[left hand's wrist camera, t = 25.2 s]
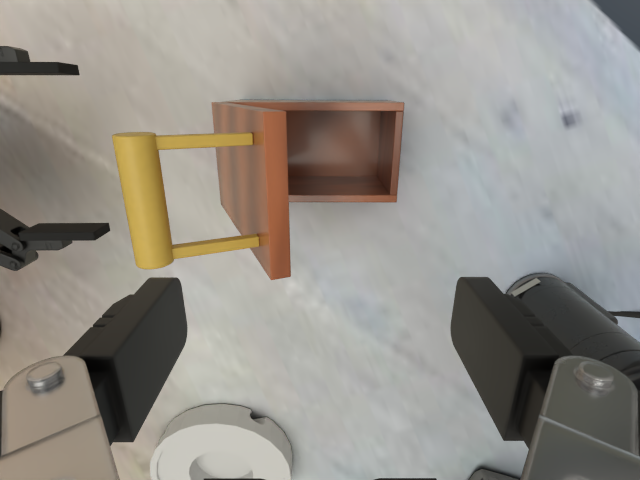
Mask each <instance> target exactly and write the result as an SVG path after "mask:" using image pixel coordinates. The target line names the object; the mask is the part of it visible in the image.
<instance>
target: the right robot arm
mask: <svg viewBox="0 0 640 480" xmlns="http://www.w3.org/2000/svg"><path fill="white" fill-rule="evenodd" d="M0 75H79V70H78V65H73V64H66V63H59V62H30V59H29V55H28V51H26V50H23V49H20V48H15V47H9V46H0ZM109 231H110V227H109V223H39V224H37V225H34V226H32V227H30V228H29V227H28V226H26V225H25V224H23V223H22V222H20V221H18V220H17V219H15V218H14V217H12V216H11V215H9V214H8V213H6V212H5V211H3V210H2V209H0V266H3V267H5V268H8V269H11V270H14V271H17V270H19V269H21V268H23V267H24V266H26V265H28V264H30V263H31V262H33V261H35V260H37V259H38V253H37V252H36V250H60V249H62V248H64V247H66V246H68V245H69V244H71V243H72V240H96V239H98V238H99V237H101V236H103V235H104V234H106V233H107V232H109Z"/></svg>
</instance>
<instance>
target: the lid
mask: <svg viewBox="0 0 640 480" xmlns="http://www.w3.org/2000/svg"><path fill="white" fill-rule="evenodd" d="M212 113H213V123H214V134H187V135H160V136H156V134H155V133H150V132H130V133H119V134H114V135H112V139H113V144H114V149H115V155H116V160H117V165H118V171H119V176H120V181H121V187H122V192H123V197H124V203H125V208H126V213H127V219H128V224H129V229H130V235H131V240H132V245H133V251H134V256H135V261H136V265H137V266H138V267H139V268H142V269H157V268H161V267H165V266H167V265H169V264H171V263H172V262H173V261H174V259H178V258H184V257H191V256H198V255H205V254H211V253H218V252H225V251H232V250H239V249H245V248H250V249H251V250H252V252H253V253H254V255H255V256H256V258H257V259H258V261H259V262H260V264H261V266H262V267H263V269H264V270H265V272H266V273H267V275H268V276H269V278H270V279H271V280H275V279H280V278H286V277H290V276H291V270H290V233H289V196H288V160H287V123H286V111H281V110H274V109H267V108H260V107H254V106H247V105H240V104H234V103H227V102H212ZM206 147H216V155H217V166H218V177H219V188H220V198H221V205H222V206H223V208H224V209H225V211H226V212H227V214H228V215H229V217H230V219H231V220H232V222H233V223H234V225H235V226H236V228H237V229H238V231H239V232H240V234H241V235H242V236H235V237H228V238H220V239H213V240H205V241H198V242H191V243H183V244H176V245H172V240H171V233H170V226H169V219H168V212H167V206H166V199H165V192H164V185H163V178H162V172H161V165H160V158H159V151H158V150H165V149H186V148H206Z"/></svg>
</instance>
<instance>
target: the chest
mask: <svg viewBox="0 0 640 480" xmlns="http://www.w3.org/2000/svg"><path fill="white" fill-rule="evenodd" d="M226 102H227V103H234V104H240V105H247V106H254V107H260V108H267V109H274V110H281V111H286V123H287V160H288V196H289V202H397V189H398V176H399V163H400V150H401V137H402V124H403V111H404V103H403V102H395V101H388V100H235V101H226Z"/></svg>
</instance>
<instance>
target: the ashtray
mask: <svg viewBox="0 0 640 480" xmlns="http://www.w3.org/2000/svg"><path fill="white" fill-rule="evenodd" d="M250 413H252V412H251V409H248V408H245V407H242V406H236V405H228V404H213V405H203V406H200V407H196V408H193V409H190V410H187V411H185V412H184V413H182V414H180V415H179V416H177V417H176V418H174V419H173V420H172V421H171V422H170V424H169V425H168V427H167V429H166V431H165V433H164V434H163V436H162V437H161V439H160V440H159V442H158V445H157V447H156V449H155V451H154V454H153V456H152V459H151V461H150V476H151V479H152V480H204V478H261V479H265V480H291V473H292V459H293V456H292V450H291V444H290V442H289V441H288V439H287V437H286V435H285V433H284V432H283V431H282V430H281V429H280V428H279V427H278V426H277V425H276V424H275V423H274V422H273V421H272V420H271V419H269V418H267V417H263V418H258V419H251V417H250Z"/></svg>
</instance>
